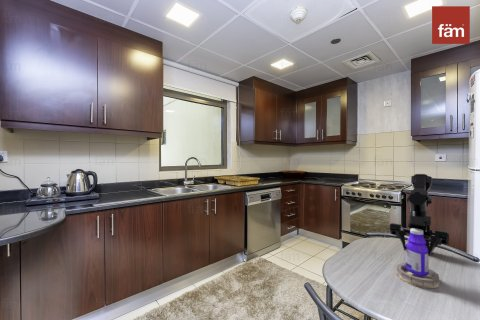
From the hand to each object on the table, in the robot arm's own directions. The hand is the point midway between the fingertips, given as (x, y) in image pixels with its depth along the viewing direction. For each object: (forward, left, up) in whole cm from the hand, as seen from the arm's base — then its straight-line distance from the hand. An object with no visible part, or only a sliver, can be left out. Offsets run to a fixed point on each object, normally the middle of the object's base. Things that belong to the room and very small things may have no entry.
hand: (416, 252), depth 86 cm
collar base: (-1, +1, -11) cm, 11 cm away
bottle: (-1, +1, -9) cm, 9 cm away
